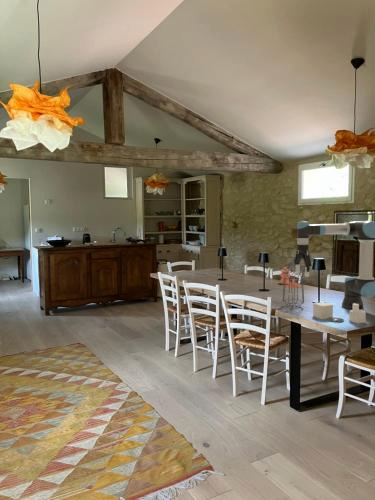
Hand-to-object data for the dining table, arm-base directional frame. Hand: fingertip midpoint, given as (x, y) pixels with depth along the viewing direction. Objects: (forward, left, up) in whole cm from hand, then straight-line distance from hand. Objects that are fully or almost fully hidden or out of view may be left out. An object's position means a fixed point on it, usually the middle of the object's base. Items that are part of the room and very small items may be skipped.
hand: (302, 275), depth 267 cm
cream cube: (-13, +6, -28) cm, 32 cm away
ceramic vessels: (-48, -111, -29) cm, 124 cm away
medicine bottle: (-27, +22, -29) cm, 45 cm away
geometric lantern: (-8, -26, -29) cm, 40 cm away
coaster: (-16, +16, -28) cm, 36 cm away
